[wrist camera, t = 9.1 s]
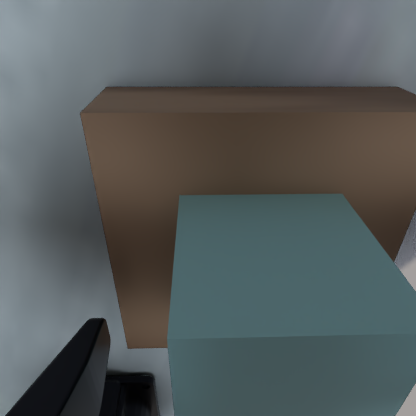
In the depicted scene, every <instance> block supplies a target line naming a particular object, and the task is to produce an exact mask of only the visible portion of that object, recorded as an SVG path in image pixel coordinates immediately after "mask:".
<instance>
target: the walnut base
mask: <svg viewBox="0 0 416 416" xmlns="http://www.w3.org/2000/svg"><path fill="white" fill-rule="evenodd" d="M80 115H81V120H82V125H83V130H84V135H85V140H86V145H87V150H88V154H89V159H90V164H91V169H92V174H93V179H94V184H95V189H96V194H97V199H98V204H99V209H100V214H101V219H102V223H103V228H104V233H105V238H106V243H107V248H108V253H109V258H110V263H111V268H112V273H113V278H114V283H115V288H116V292H117V297H118V302H119V307H120V312H121V317H122V322H123V327H124V332H125V337H126V342H127V347H128V349H134V348H168V344H167V334H168V322H169V311H170V299H171V287H172V276H173V264H174V252H175V241H176V229H177V218H178V206H179V195H257V194H343V195H344V197H345V198H346V199H347V201H348V202H349V203H350V205H351V206H352V207H353V209H354V210H355V211H356V213H357V214H358V215H359V217H360V218H361V219H362V221H363V222H364V223H365V225H366V226H367V227H368V229H369V230H370V231H371V233H372V234H373V235H374V237H375V238H376V239H377V241H378V242H379V243H380V245H381V246H382V247H383V249H384V250H385V251H386V253H387V254H388V255H389V257H390V258H391V259H392V261H393V262H394V261H395V258H396V256H397V253H398V251H399V248H400V246H401V244H402V241H403V239H404V236H405V234H406V231H407V229H408V227H409V224H410V222H411V219H412V217H413V214H414V212H415V210H416V95H415V94H413V93H411V92H408V91H406V90H404V89H402V88H399V87H106V88H105V89H104V90H103V91H102V92H101V93H100V94H99V95H98V96H97V97H96V98H95V99H94V100H93V101H92V102H91V103H90V104H89V105H88V106H87V107H86V108H85V109H84V110H82V111H81V112H80Z"/></svg>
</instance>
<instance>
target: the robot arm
mask: <svg viewBox="0 0 416 416" xmlns="http://www.w3.org/2000/svg"><path fill="white" fill-rule="evenodd" d="M109 350H110V334H109V330H108V326H107V322H106V320H105V319H104V318H91V319H89V320H88V321H87V322H86V323H85V324H84V325H83V326H82V327H81V329H80V330H79V331H78V332H77V333H76V334H75V336H74V337H73V338H72V339H71V340H70V341H69V342H68V344H67V345H66V346H65V347H64V348H63V349H62V351H61V352H60V353H59V354H58V355H57V356H56V357H55V359H54V360H53V361H52V362H51V363H50V364H49V366H48V367H47V368H46V369H45V370H44V371H43V373H42V374H41V375H40V376H39V377H38V378H37V379H36V381H35V382H34V383H33V384H32V385H31V386H30V388H29V389H28V390H27V391H26V392H25V393H24V395H23V396H22V397H21V398H20V399H19V400H18V401H17V403H16V404H15V405H14V406H13V407H12V408H11V410H10V411H9V412H8V413H7V414H6V415H5V416H160V414H159V407H158V400H157V393H156V386H155V380H154V378H153V377H151V376H109V377H106V370H107V363H108V357H109Z"/></svg>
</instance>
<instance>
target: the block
mask: <svg viewBox="0 0 416 416" xmlns="http://www.w3.org/2000/svg"><path fill="white" fill-rule="evenodd" d="M167 344H168V354H169V364H170V375H171V385H172V395H173V405H174V416H395V415H396V414H397V412H398V411H399V409H400V407H401V406H402V404H403V403H404V401H405V399H406V398H407V396H408V394H409V393H410V391H411V390H412V388H413V386H414V385H415V383H416V291H415V290H414V289H413V287H412V286H411V285H410V284H409V282H408V281H407V279H406V278H405V277H404V275H403V274H402V273H401V271H400V270H399V269H398V267H397V266H396V265H395V263H394V262H393V261H392V259H391V258H390V257H389V255H388V254H387V253H386V251H385V250H384V249H383V247H382V246H381V245H380V243H379V242H378V241H377V239H376V238H375V237H374V235H373V234H372V233H371V231H370V230H369V229H368V227H367V226H366V225H365V223H364V222H363V221H362V219H361V218H360V217H359V215H358V214H357V213H356V211H355V210H354V209H353V207H352V206H351V205H350V203H349V202H348V201H347V199H346V198H345V197H344V195H343V194H257V195H179V206H178V218H177V229H176V241H175V252H174V264H173V276H172V287H171V299H170V311H169V322H168V334H167Z"/></svg>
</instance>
